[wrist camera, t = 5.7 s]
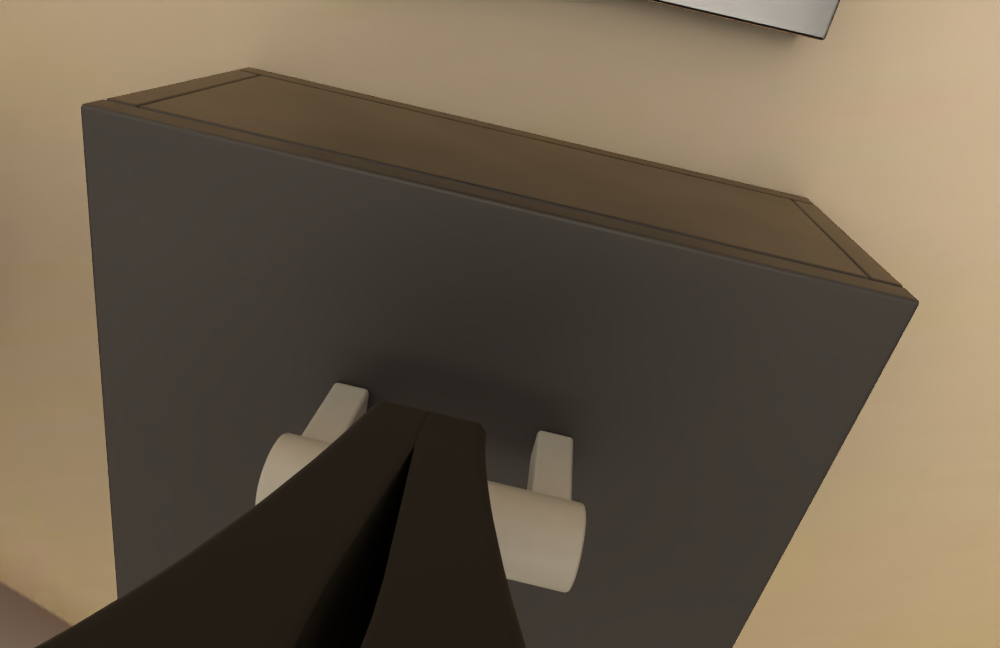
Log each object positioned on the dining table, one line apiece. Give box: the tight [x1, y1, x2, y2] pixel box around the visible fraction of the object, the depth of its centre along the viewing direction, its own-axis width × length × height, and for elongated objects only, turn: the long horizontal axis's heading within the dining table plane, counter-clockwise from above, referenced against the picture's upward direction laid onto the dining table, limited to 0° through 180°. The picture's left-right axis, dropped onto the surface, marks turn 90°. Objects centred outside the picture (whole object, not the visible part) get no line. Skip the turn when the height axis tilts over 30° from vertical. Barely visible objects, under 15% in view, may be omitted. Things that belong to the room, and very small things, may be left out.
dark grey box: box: [107, 68, 902, 288], centre depth 17 cm, size 11×14×6 cm
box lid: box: [81, 100, 919, 648], centre depth 13 cm, size 12×14×4 cm
